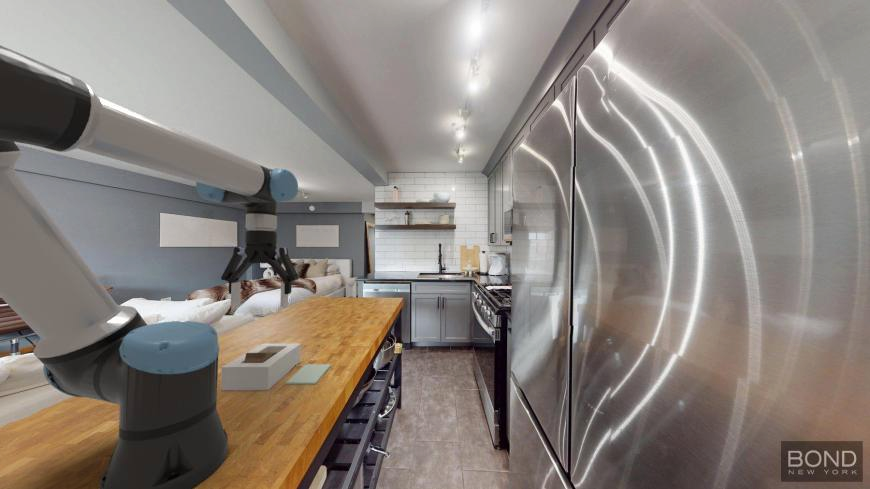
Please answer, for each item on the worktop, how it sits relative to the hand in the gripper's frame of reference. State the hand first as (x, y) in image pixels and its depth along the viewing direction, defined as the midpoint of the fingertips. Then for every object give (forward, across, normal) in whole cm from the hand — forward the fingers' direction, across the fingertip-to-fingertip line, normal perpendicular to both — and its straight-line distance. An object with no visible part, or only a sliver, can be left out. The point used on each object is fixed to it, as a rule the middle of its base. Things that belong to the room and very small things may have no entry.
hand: (260, 305), depth 78 cm
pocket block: (+21, 0, -3) cm, 21 cm away
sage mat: (+21, -13, -3) cm, 25 cm away
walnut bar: (+17, 0, -3) cm, 17 cm away
